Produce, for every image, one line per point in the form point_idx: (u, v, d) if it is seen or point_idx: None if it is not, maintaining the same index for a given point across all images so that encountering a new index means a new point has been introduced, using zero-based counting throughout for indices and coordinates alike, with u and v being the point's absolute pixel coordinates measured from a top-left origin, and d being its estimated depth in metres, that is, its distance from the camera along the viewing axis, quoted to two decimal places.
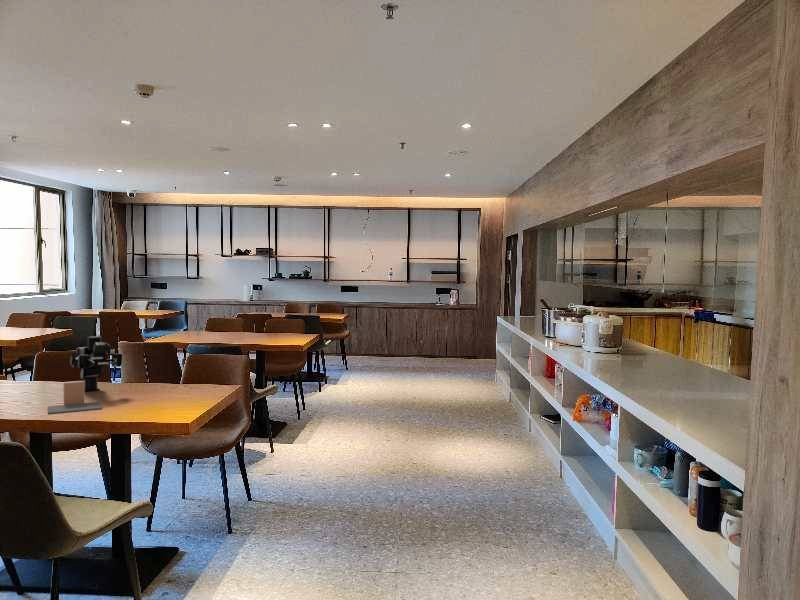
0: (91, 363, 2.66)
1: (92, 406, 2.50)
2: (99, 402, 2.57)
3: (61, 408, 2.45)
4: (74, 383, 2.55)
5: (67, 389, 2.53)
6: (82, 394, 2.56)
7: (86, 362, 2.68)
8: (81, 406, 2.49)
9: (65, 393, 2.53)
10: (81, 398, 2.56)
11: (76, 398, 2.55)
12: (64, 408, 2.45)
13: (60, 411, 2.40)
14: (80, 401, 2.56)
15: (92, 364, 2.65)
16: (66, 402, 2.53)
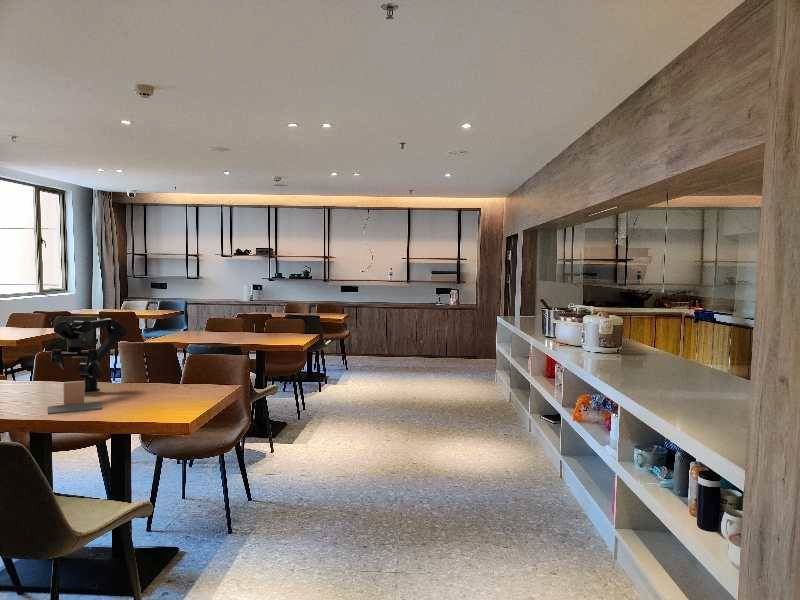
0: (61, 365, 2.64)
1: (92, 406, 2.50)
2: (99, 402, 2.57)
3: (61, 408, 2.45)
4: (74, 383, 2.55)
5: (67, 389, 2.53)
6: (82, 394, 2.56)
7: (58, 358, 2.66)
8: (81, 406, 2.49)
9: (65, 393, 2.53)
10: (81, 398, 2.56)
11: (76, 398, 2.55)
12: (64, 408, 2.45)
13: (60, 411, 2.40)
14: (80, 401, 2.56)
15: (62, 367, 2.63)
16: (66, 402, 2.53)
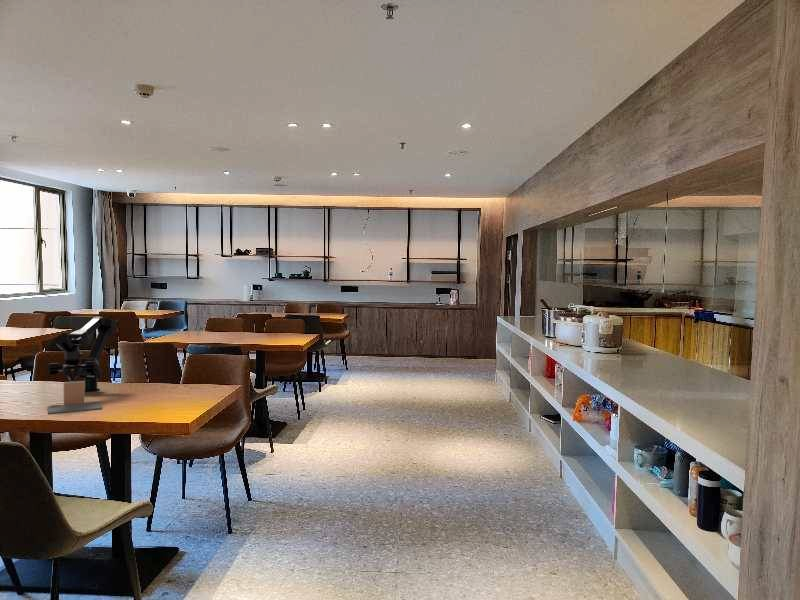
0: (69, 378, 2.62)
1: (92, 406, 2.50)
2: (99, 402, 2.57)
3: (61, 408, 2.45)
4: (74, 383, 2.55)
5: (67, 389, 2.53)
6: (82, 394, 2.56)
7: (66, 371, 2.64)
8: (81, 406, 2.49)
9: (65, 393, 2.53)
10: (81, 398, 2.56)
11: (76, 398, 2.55)
12: (64, 408, 2.45)
13: (60, 411, 2.40)
14: (80, 401, 2.56)
15: (70, 380, 2.62)
16: (66, 402, 2.53)
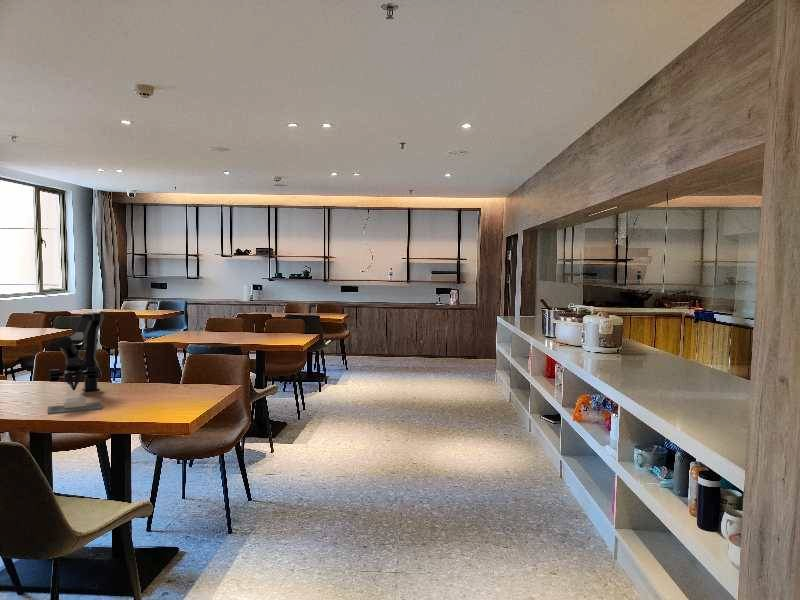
0: (71, 385, 2.54)
1: (92, 406, 2.50)
2: (99, 402, 2.57)
3: (61, 408, 2.45)
4: (75, 407, 2.47)
5: None
6: None
7: None
8: None
9: None
10: None
11: None
12: (64, 408, 2.45)
13: (60, 411, 2.40)
14: None
15: (71, 387, 2.54)
16: None
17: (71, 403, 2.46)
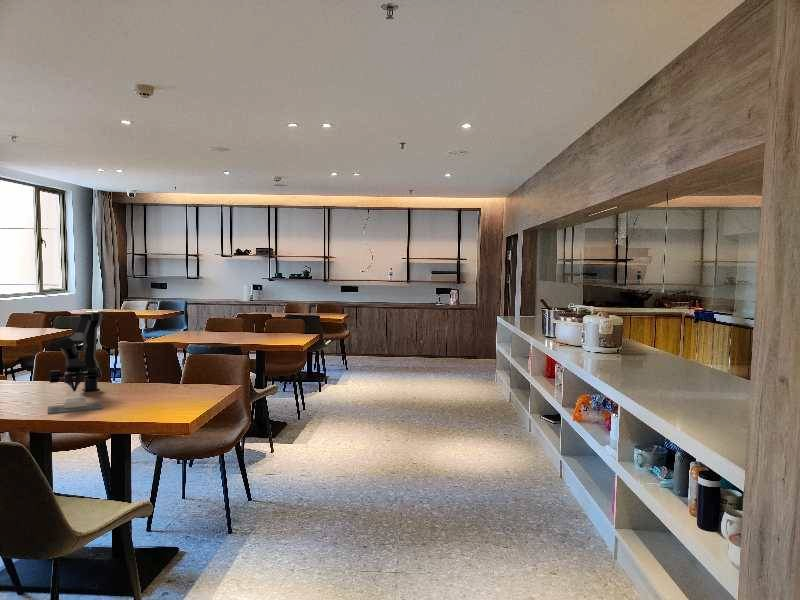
0: (71, 386, 2.53)
1: (92, 406, 2.50)
2: (99, 402, 2.57)
3: (61, 408, 2.45)
4: (75, 407, 2.47)
5: None
6: None
7: None
8: None
9: None
10: None
11: None
12: (64, 408, 2.45)
13: (60, 411, 2.40)
14: None
15: (72, 388, 2.53)
16: None
17: (71, 403, 2.46)
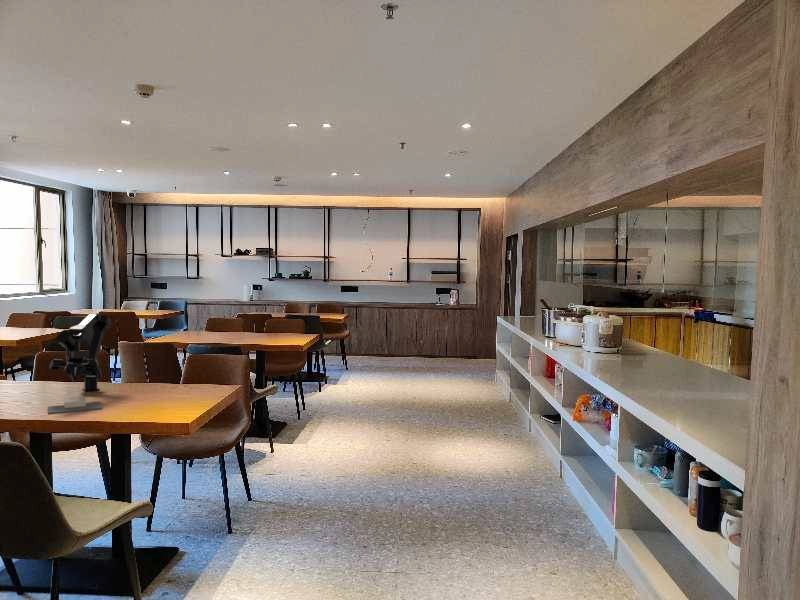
0: (71, 377, 2.61)
1: (92, 406, 2.50)
2: (99, 402, 2.57)
3: (61, 408, 2.45)
4: (75, 407, 2.47)
5: None
6: None
7: (68, 369, 2.62)
8: None
9: None
10: None
11: None
12: (64, 408, 2.45)
13: (60, 411, 2.40)
14: None
15: (72, 379, 2.61)
16: None
17: (71, 403, 2.46)
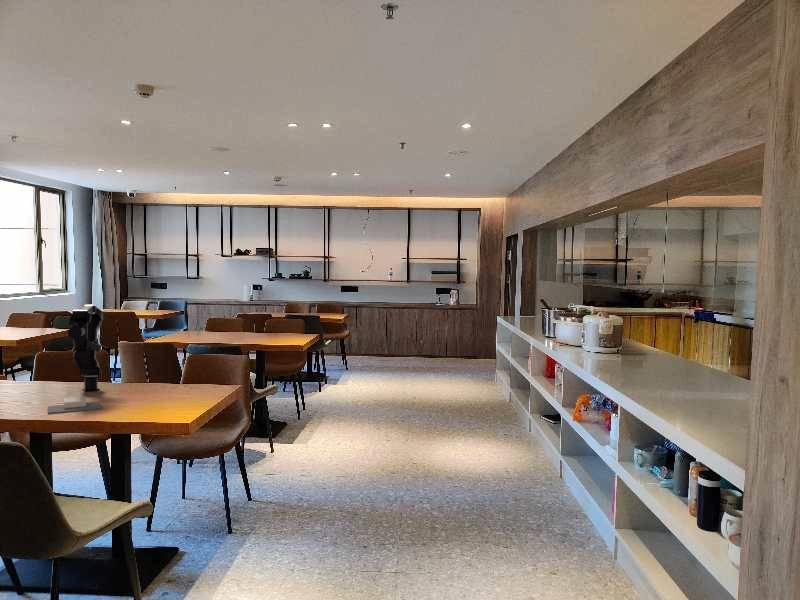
0: (81, 365, 2.67)
1: (92, 406, 2.50)
2: (99, 402, 2.57)
3: (61, 408, 2.45)
4: (75, 407, 2.47)
5: None
6: None
7: (80, 356, 2.66)
8: None
9: None
10: None
11: None
12: (64, 408, 2.45)
13: (60, 411, 2.40)
14: None
15: (80, 367, 2.67)
16: None
17: (71, 403, 2.46)
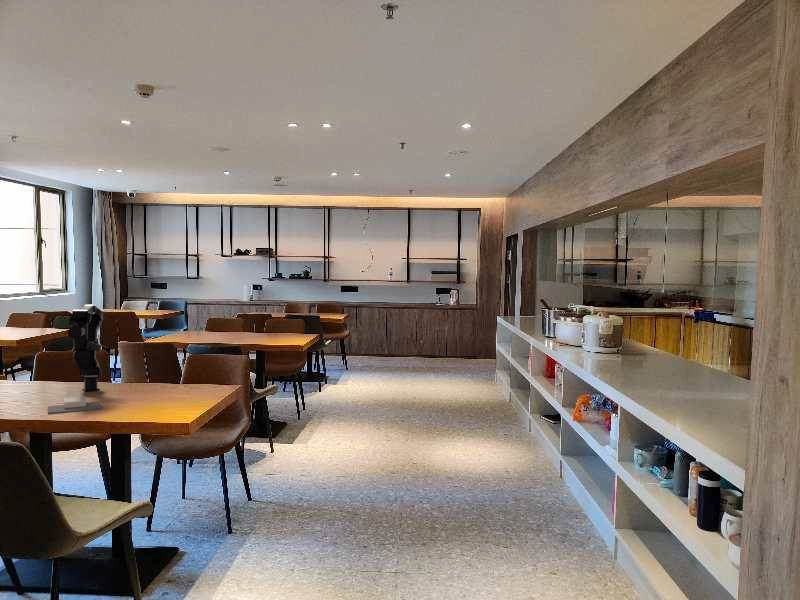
0: (81, 365, 2.67)
1: (92, 406, 2.50)
2: (99, 402, 2.57)
3: (61, 408, 2.45)
4: (75, 407, 2.47)
5: None
6: None
7: (80, 356, 2.66)
8: None
9: None
10: None
11: None
12: (64, 408, 2.45)
13: (60, 411, 2.40)
14: None
15: (80, 367, 2.67)
16: None
17: (71, 403, 2.46)
